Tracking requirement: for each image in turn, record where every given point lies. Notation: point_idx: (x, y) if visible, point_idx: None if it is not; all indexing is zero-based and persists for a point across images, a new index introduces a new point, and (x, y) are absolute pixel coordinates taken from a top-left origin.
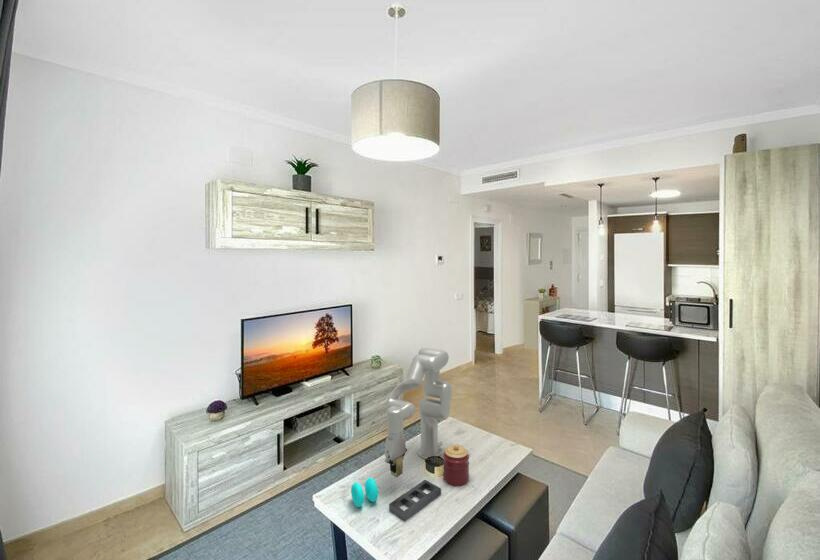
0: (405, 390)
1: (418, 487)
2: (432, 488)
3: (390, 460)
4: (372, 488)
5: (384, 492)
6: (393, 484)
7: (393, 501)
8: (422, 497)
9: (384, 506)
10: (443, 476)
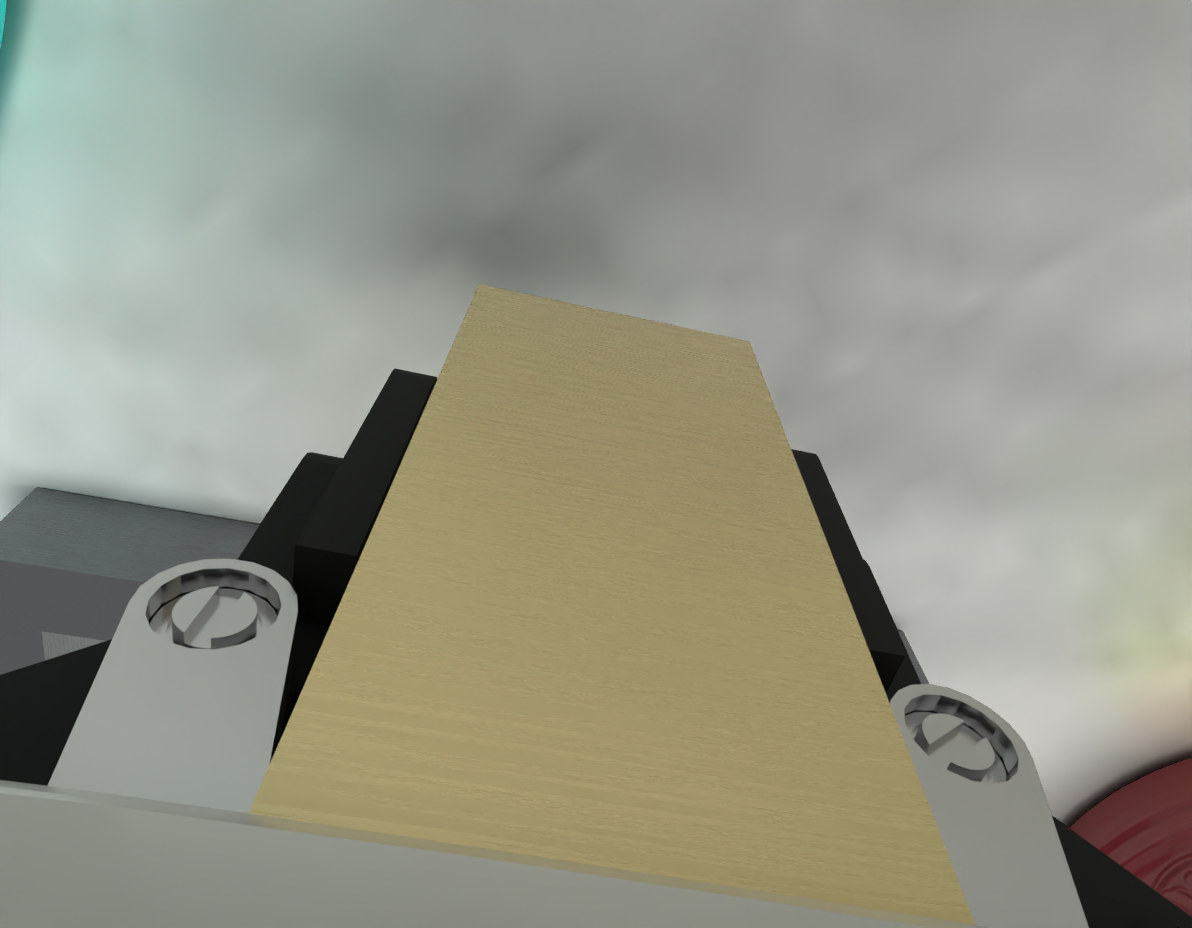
0: None
1: None
2: None
3: (158, 765)
4: None
5: (335, 119)
6: (676, 133)
7: (77, 582)
8: None
9: (39, 369)
10: (1169, 805)
